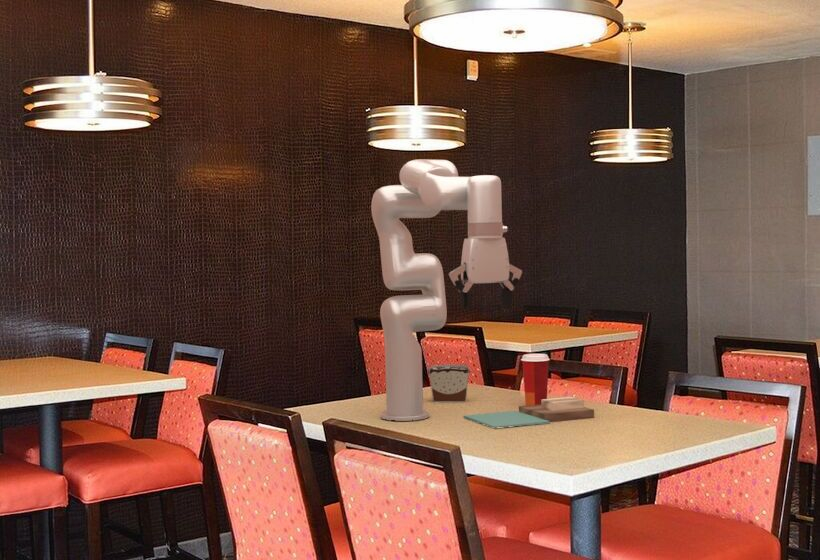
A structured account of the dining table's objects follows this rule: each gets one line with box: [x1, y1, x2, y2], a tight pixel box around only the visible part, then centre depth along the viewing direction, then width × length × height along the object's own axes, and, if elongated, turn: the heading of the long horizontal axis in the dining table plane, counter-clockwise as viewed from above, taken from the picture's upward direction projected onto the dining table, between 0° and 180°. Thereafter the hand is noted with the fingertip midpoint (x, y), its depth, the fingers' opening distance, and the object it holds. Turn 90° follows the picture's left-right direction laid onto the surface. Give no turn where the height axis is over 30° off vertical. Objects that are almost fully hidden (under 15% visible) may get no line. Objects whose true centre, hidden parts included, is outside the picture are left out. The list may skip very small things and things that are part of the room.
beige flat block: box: [541, 396, 585, 411], centre depth 267 cm, size 6×9×2 cm, turn 112°
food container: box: [426, 364, 471, 403], centre depth 296 cm, size 12×6×10 cm, turn 82°
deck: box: [518, 404, 595, 423], centre depth 267 cm, size 14×14×2 cm
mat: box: [463, 410, 551, 428], centre depth 261 cm, size 18×15×1 cm
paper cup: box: [520, 353, 550, 406], centre depth 282 cm, size 8×8×14 cm
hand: (486, 309), depth 229 cm, fingers open, 9 cm apart
